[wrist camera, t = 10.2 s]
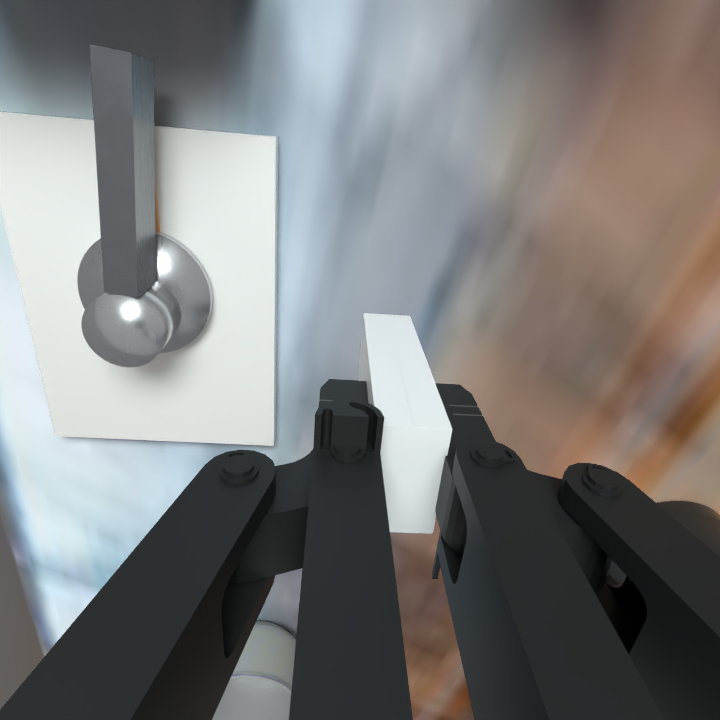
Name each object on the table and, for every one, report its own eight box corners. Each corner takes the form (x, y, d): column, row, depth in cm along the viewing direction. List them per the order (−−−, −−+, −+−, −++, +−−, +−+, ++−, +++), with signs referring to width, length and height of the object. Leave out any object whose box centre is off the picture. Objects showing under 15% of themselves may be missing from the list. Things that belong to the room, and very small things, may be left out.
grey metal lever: (210, 356, 36) (193, 386, 32) (87, 339, 35) (53, 368, 31) (223, 76, 28) (202, 67, 24) (64, 44, 27) (14, 28, 23)
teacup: (212, 665, 56) (193, 744, 48) (211, 603, 51) (190, 681, 44) (330, 669, 57) (329, 747, 50) (340, 609, 52) (340, 686, 45)
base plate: (275, 435, 42) (273, 447, 40) (64, 425, 40) (53, 437, 39) (278, 120, 31) (275, 119, 29) (-11, 92, 30) (-30, 90, 28)
